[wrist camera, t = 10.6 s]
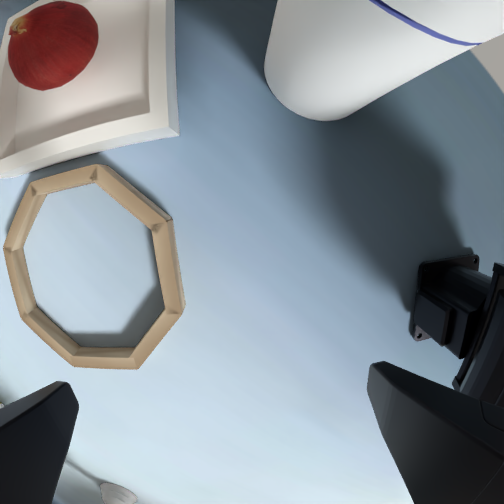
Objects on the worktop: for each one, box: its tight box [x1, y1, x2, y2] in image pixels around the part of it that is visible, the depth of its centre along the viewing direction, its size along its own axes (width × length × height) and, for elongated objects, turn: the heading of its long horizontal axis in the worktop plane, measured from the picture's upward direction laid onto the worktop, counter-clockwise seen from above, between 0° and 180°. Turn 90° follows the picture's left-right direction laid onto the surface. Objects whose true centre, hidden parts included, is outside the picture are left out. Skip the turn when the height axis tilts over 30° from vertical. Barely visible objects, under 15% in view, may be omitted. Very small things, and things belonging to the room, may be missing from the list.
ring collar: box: [3, 164, 186, 369], centre depth 18 cm, size 14×14×2 cm
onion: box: [8, 1, 99, 91], centre depth 11 cm, size 6×6×8 cm
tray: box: [0, 0, 180, 178], centre depth 14 cm, size 14×14×3 cm
